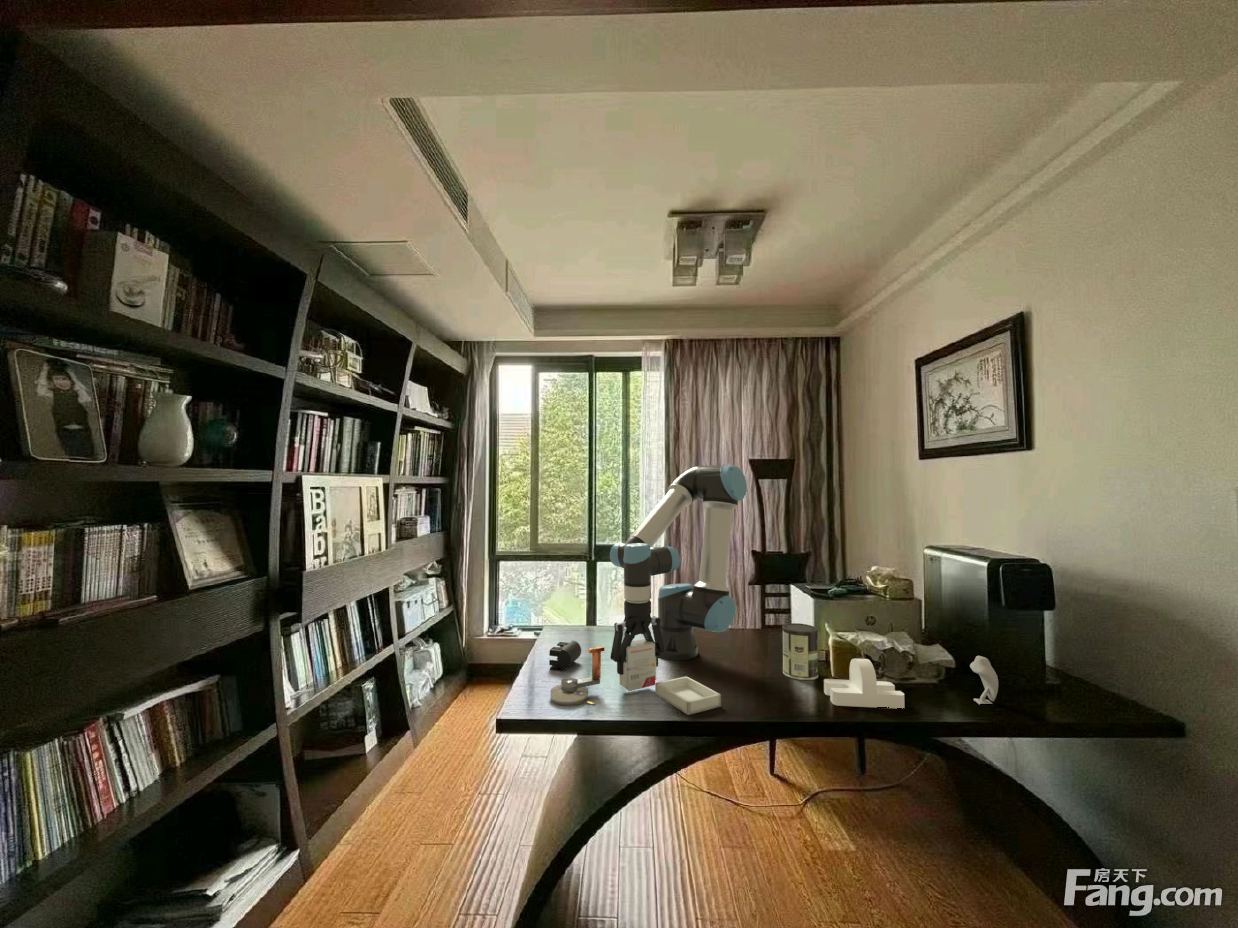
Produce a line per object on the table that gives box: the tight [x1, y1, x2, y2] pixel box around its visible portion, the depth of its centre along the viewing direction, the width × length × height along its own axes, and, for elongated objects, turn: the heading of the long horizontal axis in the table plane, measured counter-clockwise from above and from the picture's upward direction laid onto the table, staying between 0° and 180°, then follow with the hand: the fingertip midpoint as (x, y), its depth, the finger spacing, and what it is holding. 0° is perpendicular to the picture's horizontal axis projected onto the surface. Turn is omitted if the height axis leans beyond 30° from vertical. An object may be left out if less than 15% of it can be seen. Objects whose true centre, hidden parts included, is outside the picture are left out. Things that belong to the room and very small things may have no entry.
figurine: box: [969, 655, 999, 705], centre depth 137 cm, size 8×5×12 cm
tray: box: [654, 675, 722, 716], centre depth 136 cm, size 11×15×3 cm
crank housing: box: [549, 683, 596, 707], centre depth 136 cm, size 10×12×2 cm
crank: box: [560, 646, 605, 692], centre depth 139 cm, size 12×4×10 cm, turn 120°
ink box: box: [621, 638, 656, 692], centre depth 142 cm, size 9×5×12 cm, turn 116°
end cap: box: [548, 639, 582, 672], centre depth 161 cm, size 10×7×7 cm
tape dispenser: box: [823, 658, 905, 710], centre depth 138 cm, size 10×18×11 cm, turn 85°
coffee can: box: [781, 622, 819, 681], centre depth 156 cm, size 10×10×14 cm
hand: (638, 682), depth 142 cm, fingers closed on ink box, 9 cm apart
